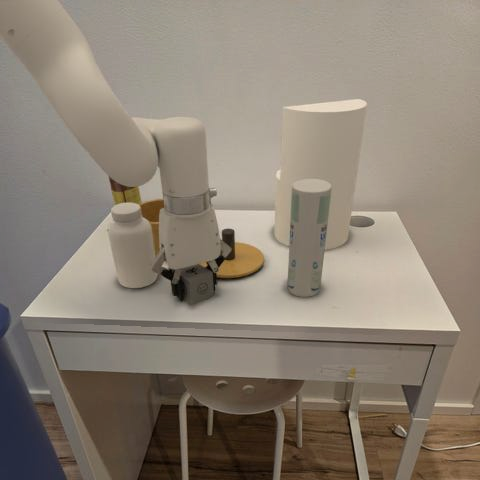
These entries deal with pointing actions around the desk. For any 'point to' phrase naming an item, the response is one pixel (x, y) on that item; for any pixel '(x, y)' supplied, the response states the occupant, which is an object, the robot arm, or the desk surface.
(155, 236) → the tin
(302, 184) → the spray can
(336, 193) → the cylinder
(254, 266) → the tan wooden disc
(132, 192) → the sauce bottle
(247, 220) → the desk surface
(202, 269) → the dice cube
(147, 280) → the pill bottle
